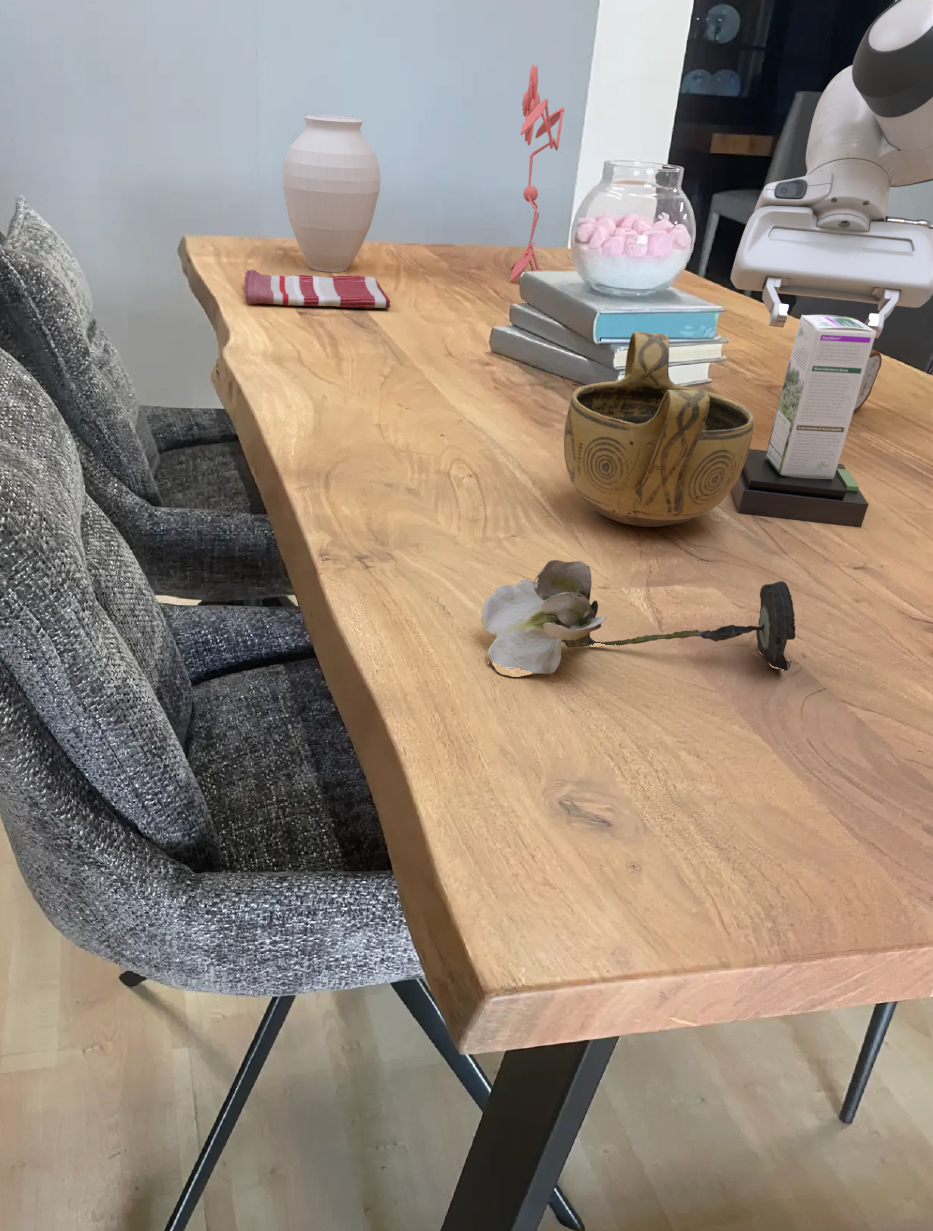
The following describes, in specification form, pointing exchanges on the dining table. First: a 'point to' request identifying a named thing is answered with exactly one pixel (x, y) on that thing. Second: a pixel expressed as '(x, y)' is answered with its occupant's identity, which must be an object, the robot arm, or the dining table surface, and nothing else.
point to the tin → (868, 378)
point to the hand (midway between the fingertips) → (824, 329)
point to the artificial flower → (599, 620)
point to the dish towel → (315, 290)
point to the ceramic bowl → (653, 442)
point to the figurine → (532, 113)
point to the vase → (331, 190)
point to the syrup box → (819, 395)
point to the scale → (797, 494)
